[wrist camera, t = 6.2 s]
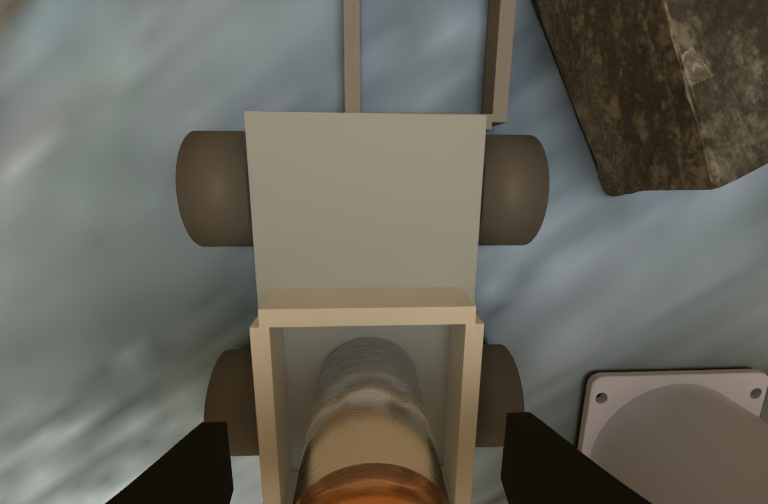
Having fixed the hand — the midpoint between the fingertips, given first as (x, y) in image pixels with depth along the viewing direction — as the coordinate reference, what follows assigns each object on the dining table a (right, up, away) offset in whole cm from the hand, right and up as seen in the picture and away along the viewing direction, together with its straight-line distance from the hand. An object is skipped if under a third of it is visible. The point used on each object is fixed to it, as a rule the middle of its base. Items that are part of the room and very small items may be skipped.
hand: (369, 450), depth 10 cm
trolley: (0, +6, +5) cm, 8 cm away
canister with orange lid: (0, +1, +2) cm, 3 cm away
